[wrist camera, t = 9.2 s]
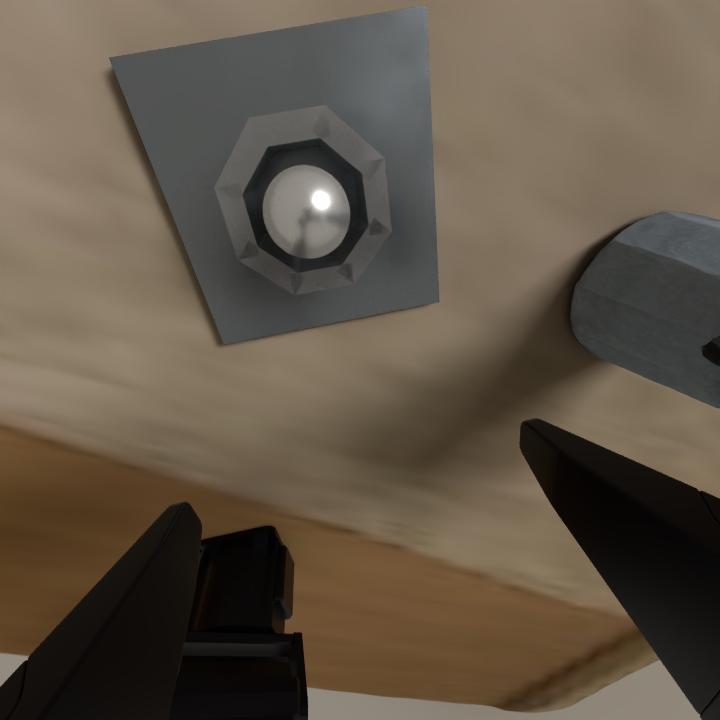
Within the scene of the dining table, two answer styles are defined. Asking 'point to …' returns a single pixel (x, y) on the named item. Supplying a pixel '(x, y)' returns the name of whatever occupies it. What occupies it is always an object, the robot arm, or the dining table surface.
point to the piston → (295, 160)
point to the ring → (244, 213)
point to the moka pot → (657, 303)
